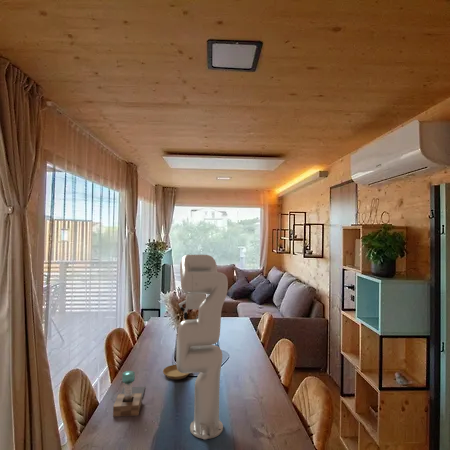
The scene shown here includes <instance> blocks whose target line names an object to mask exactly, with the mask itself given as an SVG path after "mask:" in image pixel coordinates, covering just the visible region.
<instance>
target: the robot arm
mask: <svg viewBox="0 0 450 450" xmlns="http://www.w3.org/2000/svg"><path fill="white" fill-rule="evenodd" d="M179 274H180V289H181V291H182V292H183V294H185V300H183V301H181V302H180V303H178V306H179V309H180V310H181V311H182V312H183V319H184V320H182V321H181V322H180V323H179V325H178V328H177V335H176V336H177V338H176V355H175V356H176V359H175V360H176V362H175V365H177V369H178V371H179V372H181V373H189V374H193V373H194V374H195V373H198V375H197V377H196V378H195V382H194V408H193V409H194V410H193V413H194V414H193V421H191V423H190V425H189V431H190V433H191V434H192V435H193V436H194V437H195V438H199V439H203V440H208V439H209V440H210V439H215V438H216V437H218V436H219V435H221V434H222V432H223V430H224V424H223V422H222V421H221V420H220V383H221V382H220V380H221V370H222V364H223V352H222V349H221V347H220V346H218V345H215V344H217V343H218V342H219V340H220V336H221V322H222V309H223V305H224V304H225V301H226V297H227V295H228V289H229V288H228V287H229V286H228V285H229V284H228V277H227V275H226V274H225V273H224V272H220V271H218V265H217V263H216V259H215V258H214V257H213V256H211V255H209V254H185V255H184V256H182V258H181V260H180V265H179ZM207 294H209V295H208V296H206V295H207ZM183 305H185V307H183ZM189 310H198V316H197V317H198V318H197V319H195V318H194V319H188V311H189Z"/></svg>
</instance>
